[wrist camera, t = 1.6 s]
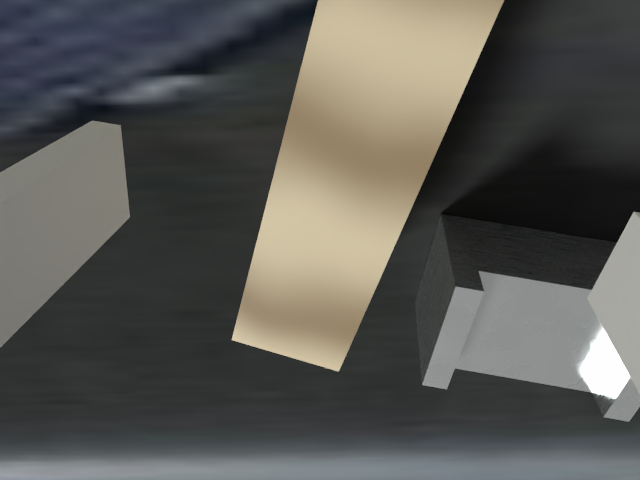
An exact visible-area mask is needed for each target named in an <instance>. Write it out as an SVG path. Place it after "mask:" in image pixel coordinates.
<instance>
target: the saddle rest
mask: <svg viewBox="0 0 640 480" xmlns="http://www.w3.org/2000/svg"><path fill="white" fill-rule="evenodd" d="M616 244H617V242H611V241H604V240H598V239H592V238H586V237H580V236H574V235H568V234H562V233H556V232H550V231H543V230H537V229H531V228H525V227H519V226H513V225H507V224H501V223H495V222H489V221H482V220H476V219H470V218H464V217H458V216H452V215H446V214H440V218H439V221H438V224H437V228H436V231H435V235H434V238H433V242H432V245H431V248H430V252H429V255H428V259H427V262H426V266H425V269H424V272H423V276H422V279H421V283H420V286H419V290H418V293H417V296H416V300H415V305H416V317H417V330H418V342H419V354H420V366H421V378H422V385H426V386H431V387H437V388H443V389H447V387H448V385H449V382H450V380H451V377H452V374H453V372H454V369H455V368H456V369H462V370H468V371H473V372H479V373H485V374H490V375H496V376H502V377H508V378H513V379H519V380H525V381H530V382H536V383H542V384H547V385H553V386H559V387H564V388H570V389H576V390H582V391H587V392H592V393H593V395H594V397H595V400H596V402H597V404H598V406H599V408H600V410H601V413H602V415H603V417H606V418H612V419H617V420H623V421H630V420H631V418H632V417H633V415H634V414H635V413H636V411H637V410H638V408H639V407H640V394H639V392H638V390H637V388H636V387H635V385H634V383H633V381H632V379H631V377H630V376H629V374H628V372H627V370H626V368H625V366H624V365H623V363H622V361H621V359H620V357H619V356H618V354H617V352H616V350H615V348H614V346H613V345H612V343H611V341H610V339H609V337H608V336H607V334H606V332H605V330H604V328H603V326H602V325H601V323H600V321H599V319H598V317H597V315H596V314H595V312H594V310H593V308H592V306H591V305H590V303H589V301H588V299H587V298H588V296H589V294H590V292H591V291H592V289H593V287H594V285H595V283H596V281H597V279H598V277H599V276H600V274H601V272H602V270H603V268H604V266H605V264H606V262H607V261H608V259H609V257H610V255H611V253H612V251H613V249H614V248H615V246H616Z"/></svg>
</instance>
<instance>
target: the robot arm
mask: <svg viewBox="0 0 640 480" xmlns="http://www.w3.org/2000/svg"><path fill="white" fill-rule="evenodd" d="M129 218H130V214H129V204H128V194H127V184H126V174H125V164H124V154H123V144H122V134H121V125H115V124H109V123H103V122H97V121H91V122H89V123H87V124H86V125H84V126H82V127H80V128H79V129H77V130H75V131H73V132H71V133H70V134H68V135H66V136H64V137H63V138H61V139H59V140H57V141H55V142H54V143H52V144H50V145H48V146H47V147H45V148H43V149H41V150H39V151H38V152H36V153H34V154H32V155H31V156H29V157H27V158H25V159H23V160H22V161H20V162H18V163H16V164H15V165H13V166H11V167H9V168H7V169H6V170H4V171H2V172H0V347H1V346H2V345H3V344H4V343H5V342H6V341H7V340H8V339H9V338H10V337H11V336H12V335H13V334H14V333H15V332H16V331H17V330H18V329H19V328H20V327H21V326H22V325H23V324H24V323H25V322H26V321H27V320H28V319H29V318H30V317H31V316H32V315H33V314H34V313H35V312H36V311H37V310H38V309H39V308H40V307H41V306H42V305H43V304H44V303H45V302H46V301H47V300H48V299H49V298H50V297H51V296H52V295H53V294H54V293H55V292H56V291H57V290H58V289H59V288H60V287H61V286H62V285H63V284H64V283H65V282H66V281H67V280H68V279H69V278H70V277H71V276H72V275H73V274H74V273H75V272H76V271H77V270H78V269H79V268H80V267H81V266H82V265H83V264H84V263H85V262H86V261H87V260H88V259H89V258H90V257H91V256H92V255H93V254H94V253H95V252H96V251H97V250H98V249H99V248H100V247H101V246H102V245H103V244H104V243H105V242H106V241H107V240H108V239H109V238H110V237H111V236H112V235H113V234H114V233H115V232H116V231H117V230H118V229H119V228H120V227H121V226H122V225H123V224H124V223H125V222H126V221H127V220H128V219H129ZM587 299H588V301H589V303H590V305H591V306H592V308H593V310H594V312H595V314H596V315H597V317H598V319H599V321H600V323H601V325H602V326H603V328H604V330H605V332H606V334H607V336H608V337H609V339H610V341H611V343H612V345H613V346H614V348H615V350H616V352H617V354H618V356H619V357H620V359H621V361H622V363H623V365H624V366H625V368H626V370H627V372H628V374H629V376H630V377H631V379H632V381H633V383H634V385H635V387H636V388H637V390H638V392H639V394H640V213H639V212H633V214H632V216H631V218H630V219H629V221H628V223H627V225H626V227H625V229H624V231H623V233H622V234H621V236H620V238H619V240H618V242H617V244H616V246H615V248H614V249H613V251H612V253H611V255H610V257H609V259H608V261H607V262H606V264H605V266H604V268H603V270H602V272H601V274H600V276H599V277H598V279H597V281H596V283H595V285H594V287H593V289H592V291H591V292H590V294H589V296H588V298H587Z"/></svg>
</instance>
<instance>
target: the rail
mask: <svg viewBox="0 0 640 480" xmlns="http://www.w3.org/2000/svg"><path fill="white" fill-rule="evenodd" d="M503 2H504V0H318V3H317V7H316V11H315V15H314V19H313V23H312V27H311V31H310V35H309V39H308V42H307V46H306V50H305V54H304V58H303V62H302V66H301V70H300V74H299V78H298V82H297V86H296V90H295V93H294V97H293V101H292V105H291V109H290V113H289V117H288V121H287V125H286V129H285V133H284V137H283V141H282V144H281V148H280V152H279V156H278V160H277V164H276V168H275V172H274V176H273V180H272V184H271V188H270V192H269V195H268V199H267V203H266V207H265V211H264V215H263V219H262V223H261V227H260V231H259V235H258V239H257V243H256V246H255V250H254V254H253V258H252V262H251V266H250V270H249V274H248V278H247V282H246V286H245V290H244V294H243V297H242V301H241V305H240V309H239V313H238V317H237V321H236V325H235V329H234V333H233V337H232V340H233V341H237V342H240V343H244V344H247V345H250V346H254V347H257V348H261V349H264V350H267V351H271V352H274V353H277V354H281V355H284V356H288V357H291V358H294V359H298V360H301V361H305V362H308V363H311V364H315V365H318V366H322V367H325V368H328V369H332V370H335V371H338V372H339V370H340V368H341V365H342V363H343V361H344V359H345V356H346V354H347V352H348V350H349V347H350V345H351V343H352V341H353V338H354V336H355V334H356V332H357V329H358V327H359V325H360V323H361V320H362V318H363V316H364V314H365V311H366V309H367V307H368V305H369V302H370V300H371V298H372V296H373V293H374V291H375V289H376V287H377V285H378V282H379V280H380V278H381V276H382V273H383V271H384V269H385V267H386V264H387V262H388V260H389V258H390V255H391V253H392V251H393V249H394V246H395V244H396V242H397V240H398V237H399V235H400V233H401V231H402V228H403V226H404V224H405V222H406V219H407V217H408V215H409V213H410V210H411V208H412V206H413V204H414V201H415V199H416V197H417V195H418V192H419V190H420V188H421V186H422V184H423V181H424V179H425V177H426V175H427V172H428V170H429V168H430V166H431V163H432V161H433V159H434V157H435V154H436V152H437V150H438V148H439V145H440V143H441V141H442V139H443V136H444V134H445V132H446V130H447V127H448V125H449V123H450V121H451V118H452V116H453V114H454V112H455V109H456V107H457V105H458V103H459V100H460V98H461V96H462V94H463V92H464V89H465V87H466V85H467V83H468V80H469V78H470V76H471V74H472V71H473V69H474V67H475V65H476V62H477V60H478V58H479V56H480V53H481V51H482V49H483V47H484V44H485V42H486V40H487V38H488V35H489V33H490V31H491V29H492V26H493V24H494V22H495V20H496V17H497V15H498V13H499V11H500V8H501V6H502V4H503Z"/></svg>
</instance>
